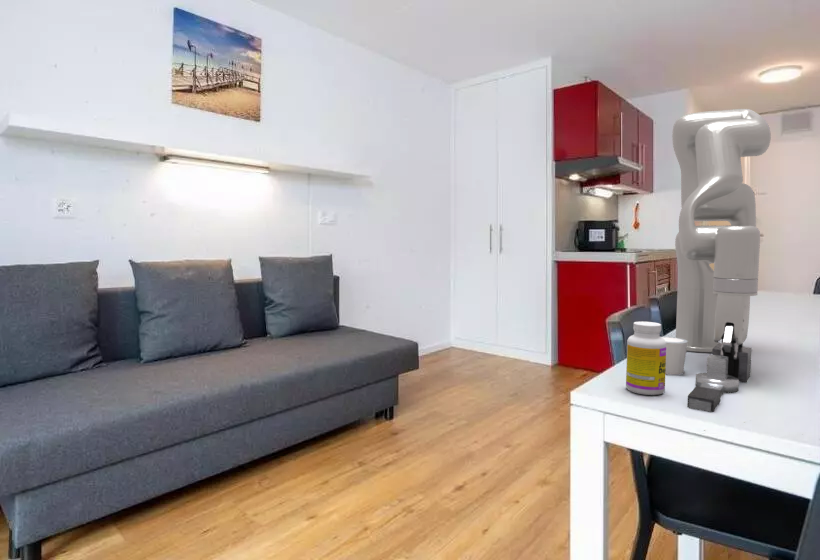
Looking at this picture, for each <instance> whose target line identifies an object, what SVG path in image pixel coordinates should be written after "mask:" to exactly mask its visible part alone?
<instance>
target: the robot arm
mask: <svg viewBox="0 0 820 560" xmlns="http://www.w3.org/2000/svg"><path fill="white" fill-rule="evenodd" d="M771 136H772V135H771V128H770V126H769V123H768V121H767V120H766V119H765V118H764V116H762V115H760V114H759V113H758V112H756V111H754V110H752V109H749V108H737V109H722V110H708V111H698V112H693V113H692V112H691V113H688V114H685V115H682V116H681V117H679V118H677V120H675V122H674V124H673V127H672V135H671V138H672V147H673V151H674V154H675V156H676V160H677V163H678V165H679V169H680V176H681V177H680V182H681V183H680V190H681V192H680V194H681V195H680V201H681V202H680V203H681V204H680V205H681V206H680V207H681V209H680V212H679V218H678V232H677V234H676V236H675V238H674V239H675V242H674V243H675V244H674V245H675V246H674V247H675V253H676V254H675V255H676V263H677V293H676V294H677V296H676V320H675V321H676V322H675V323H676V324H675V325H676V326H675V338H681V339H685V340H687V341H688V344H687V351H686V352H688V351H689V352H696V353H697V352H698V353H712V349H713V348H714V347H715V346H716V345H717V344H722V345H721V354H720V356H726V357H728V375H729V376H733V377H735V378H738V371H739V359H737V356H738V346H740V347H744V342H745V341H746V339H747V338H748V331H749V323H750V309H751V297H754V296H758V291H759V289H758V287H759V267H760V247H761V232H760V229H759V228H758V227H757V207H756V197H755V193H754V189H753V188H752V187H751V186H750V185H749V184H746V183H743V182H744V178H743V169H742V168H743V167H742V159H741V158H746V157H749V158H750V157H759V156H762V155H764V154H765V153H766V152H767V150H768V149H769V147H770V145H771V140H772V139H771V138H772V137H771ZM726 221H727V222H728V223H729V224H730V225H696V224H695V223H696V222H726ZM710 264H713V266H714V267H713V268H712V267H711V265H710ZM720 341H721V342H720ZM733 347H734V348H733Z"/></svg>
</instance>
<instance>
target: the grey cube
mask: <svg viewBox="0 0 820 560" xmlns="http://www.w3.org/2000/svg"><path fill="white" fill-rule="evenodd" d="M721 345H722V344H717V345H716V346H715V347H714V348H713V349H712V352H711V355H718V356H720V354H721ZM733 348H734V347H733ZM752 351H753V349H752V347H747V346H743V347H740V346H738V356H737V359H739V371H738V378H737V379H739V383H743V384H744V383H745V384H747V383H748V381H749V379H750V377H751V370H752V369H751V368H752Z"/></svg>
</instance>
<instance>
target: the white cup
mask: <svg viewBox="0 0 820 560" xmlns="http://www.w3.org/2000/svg"><path fill="white" fill-rule="evenodd" d="M661 337H662V338H663V339H664V340H665V341H666V372H665V373H666V374H665V375H669V376H670V375H672V376H676V375H677V376H678V375H683V374H684V370H685V363H686V357H687V356H686V355H687V352H688V351H687V344H688V341H687V340H685V339H681V338H676V336H675V337H673V336H661Z"/></svg>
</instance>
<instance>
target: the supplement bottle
mask: <svg viewBox="0 0 820 560" xmlns="http://www.w3.org/2000/svg"><path fill="white" fill-rule="evenodd" d="M632 329H633V331H634V333H633V334H632V335H630V336H629V337H628V338H627V340H626V341H627V342H626V373H625V376H626V377H625V387H626V388H627V390H628V391H630V392H631V393H635V394H638V395H645V396H646V395H647V396H658V395H662V394H663V393H664V392H665V390H666V389H665V388H666V375H667V374H666V373H665V372H666V341H665V340H664V339H663V338H662V337H663V336H660V333H661V331H662V324H661V323H659V322H653V321H634V322H633V327H632Z"/></svg>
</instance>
